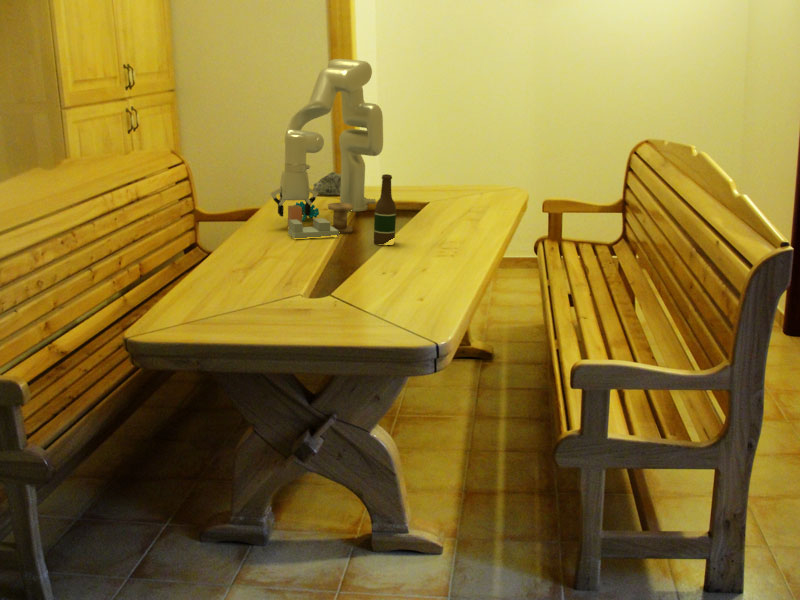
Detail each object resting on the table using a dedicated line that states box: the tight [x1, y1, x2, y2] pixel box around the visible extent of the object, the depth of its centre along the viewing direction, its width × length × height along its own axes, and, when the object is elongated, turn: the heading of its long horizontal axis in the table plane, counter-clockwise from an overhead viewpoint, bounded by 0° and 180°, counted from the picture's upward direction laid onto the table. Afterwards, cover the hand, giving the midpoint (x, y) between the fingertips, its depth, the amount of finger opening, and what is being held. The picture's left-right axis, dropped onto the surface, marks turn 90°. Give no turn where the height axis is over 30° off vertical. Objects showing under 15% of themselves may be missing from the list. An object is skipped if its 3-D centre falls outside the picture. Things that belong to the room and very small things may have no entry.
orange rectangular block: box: [287, 204, 303, 228], centre depth 354 cm, size 4×4×8 cm
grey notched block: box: [287, 217, 340, 239], centre depth 344 cm, size 16×8×6 cm, turn 112°
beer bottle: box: [373, 174, 397, 245], centre depth 336 cm, size 8×8×24 cm
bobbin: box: [327, 202, 353, 235], centre depth 354 cm, size 9×9×9 cm
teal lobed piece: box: [293, 201, 320, 222], centre depth 368 cm, size 11×6×10 cm
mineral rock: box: [312, 171, 341, 196], centre depth 415 cm, size 13×11×10 cm
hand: (294, 215), depth 354 cm, fingers open, 9 cm apart
